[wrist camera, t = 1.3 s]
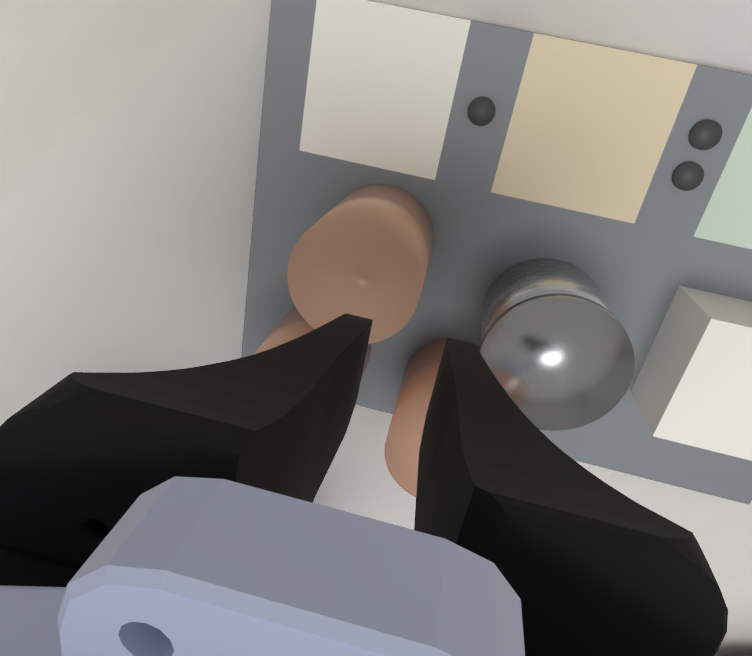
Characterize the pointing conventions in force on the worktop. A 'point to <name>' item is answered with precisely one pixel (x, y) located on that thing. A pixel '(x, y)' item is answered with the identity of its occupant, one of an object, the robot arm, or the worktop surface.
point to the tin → (555, 344)
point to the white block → (700, 374)
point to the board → (510, 185)
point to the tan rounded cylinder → (364, 260)
